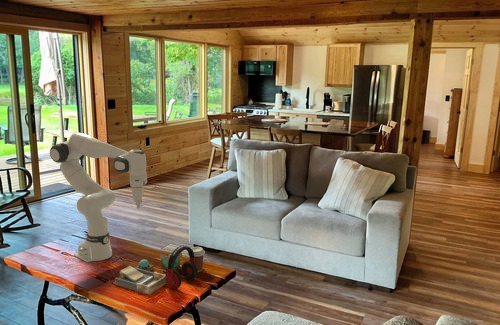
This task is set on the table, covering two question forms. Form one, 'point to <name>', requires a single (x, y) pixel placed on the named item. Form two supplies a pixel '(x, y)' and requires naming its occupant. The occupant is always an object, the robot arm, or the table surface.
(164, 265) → the food container
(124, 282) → the grey railed platform
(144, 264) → the ball
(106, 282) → the table surface
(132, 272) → the ramp
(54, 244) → the table surface
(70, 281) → the table surface
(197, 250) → the coffee cup
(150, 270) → the brown square wooden tray
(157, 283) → the tray
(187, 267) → the headphones
